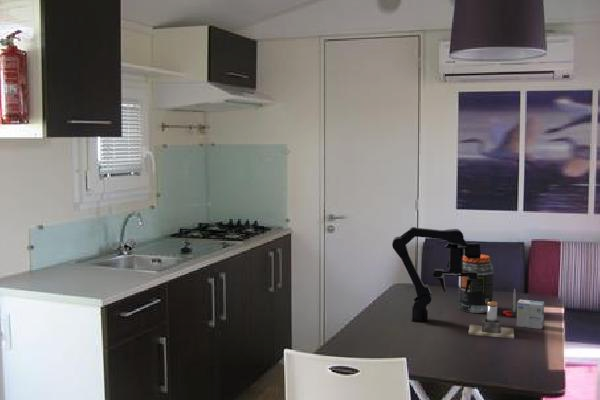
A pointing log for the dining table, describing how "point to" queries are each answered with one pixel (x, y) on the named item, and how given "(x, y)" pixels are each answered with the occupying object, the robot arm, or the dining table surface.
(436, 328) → the dining table surface
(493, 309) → the pin
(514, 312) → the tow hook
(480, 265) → the supplement tub
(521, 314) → the light bulb box
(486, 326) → the block
